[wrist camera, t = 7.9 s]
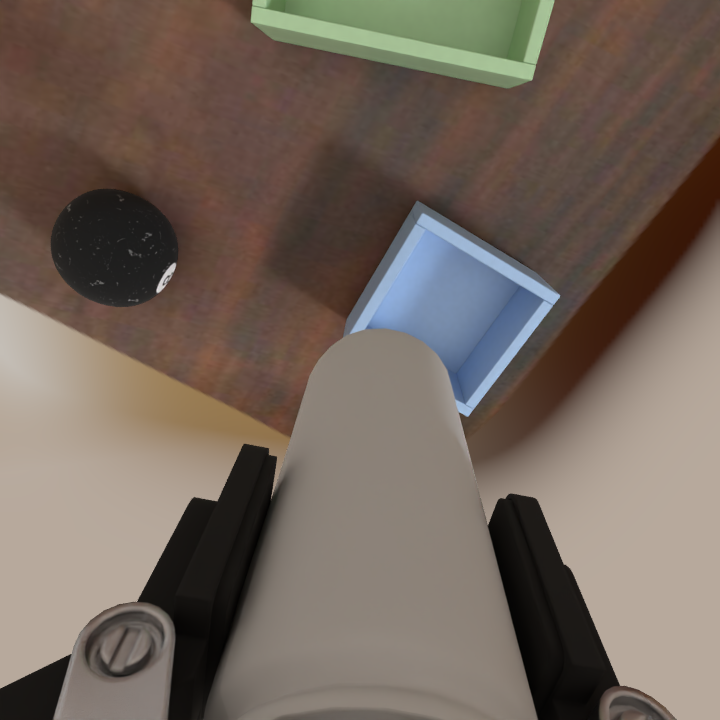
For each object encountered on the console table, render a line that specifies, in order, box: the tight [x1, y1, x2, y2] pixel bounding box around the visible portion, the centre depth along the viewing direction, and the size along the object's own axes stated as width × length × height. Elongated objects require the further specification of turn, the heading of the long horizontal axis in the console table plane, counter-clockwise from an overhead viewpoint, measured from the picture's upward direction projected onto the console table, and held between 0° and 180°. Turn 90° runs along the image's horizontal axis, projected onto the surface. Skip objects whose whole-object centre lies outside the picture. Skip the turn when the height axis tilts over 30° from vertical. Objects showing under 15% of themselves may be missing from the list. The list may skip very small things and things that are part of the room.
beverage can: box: [204, 328, 538, 720], centre depth 12 cm, size 5×5×12 cm
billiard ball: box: [51, 189, 178, 307], centre depth 27 cm, size 6×6×6 cm
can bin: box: [343, 201, 560, 416], centre depth 29 cm, size 8×8×5 cm
